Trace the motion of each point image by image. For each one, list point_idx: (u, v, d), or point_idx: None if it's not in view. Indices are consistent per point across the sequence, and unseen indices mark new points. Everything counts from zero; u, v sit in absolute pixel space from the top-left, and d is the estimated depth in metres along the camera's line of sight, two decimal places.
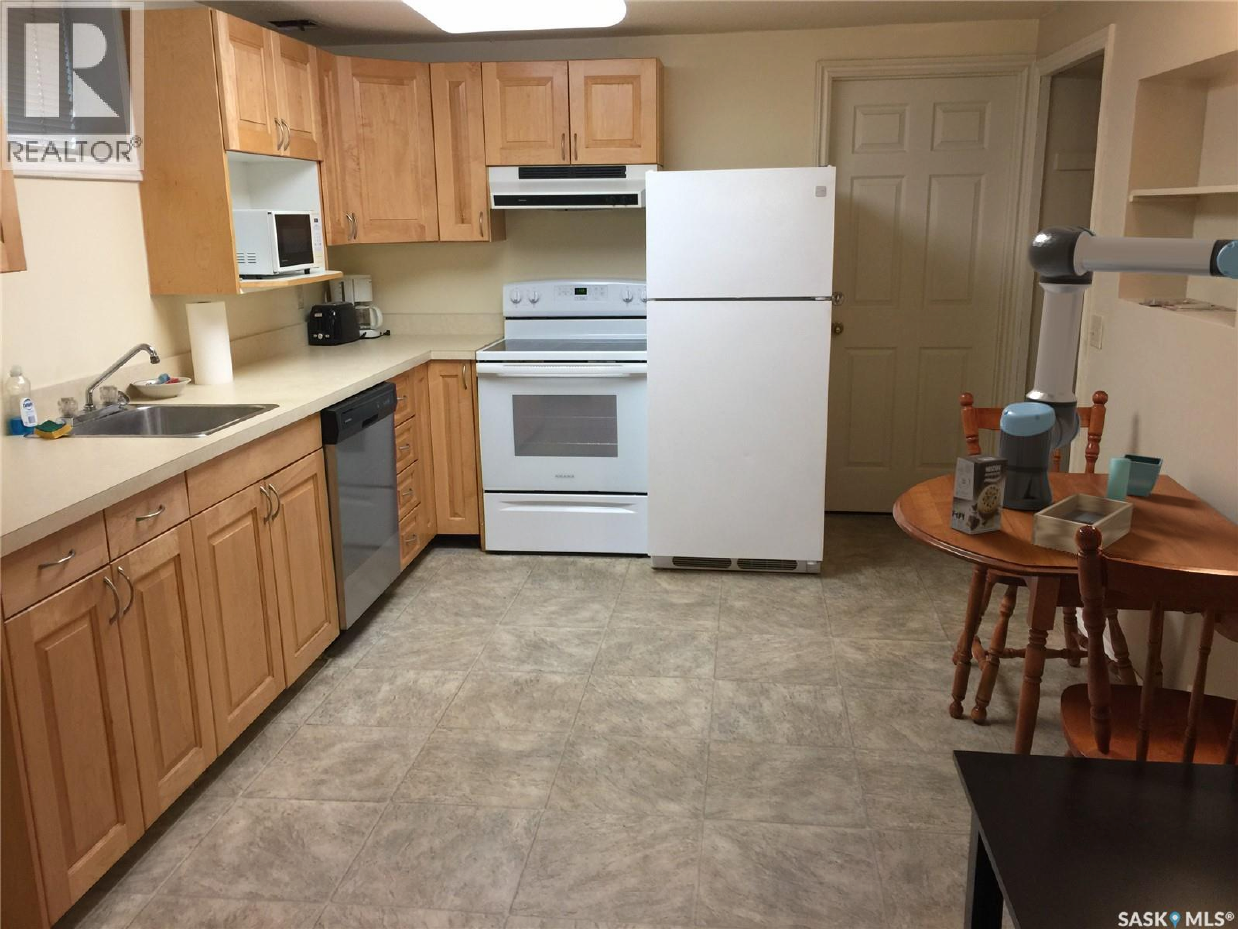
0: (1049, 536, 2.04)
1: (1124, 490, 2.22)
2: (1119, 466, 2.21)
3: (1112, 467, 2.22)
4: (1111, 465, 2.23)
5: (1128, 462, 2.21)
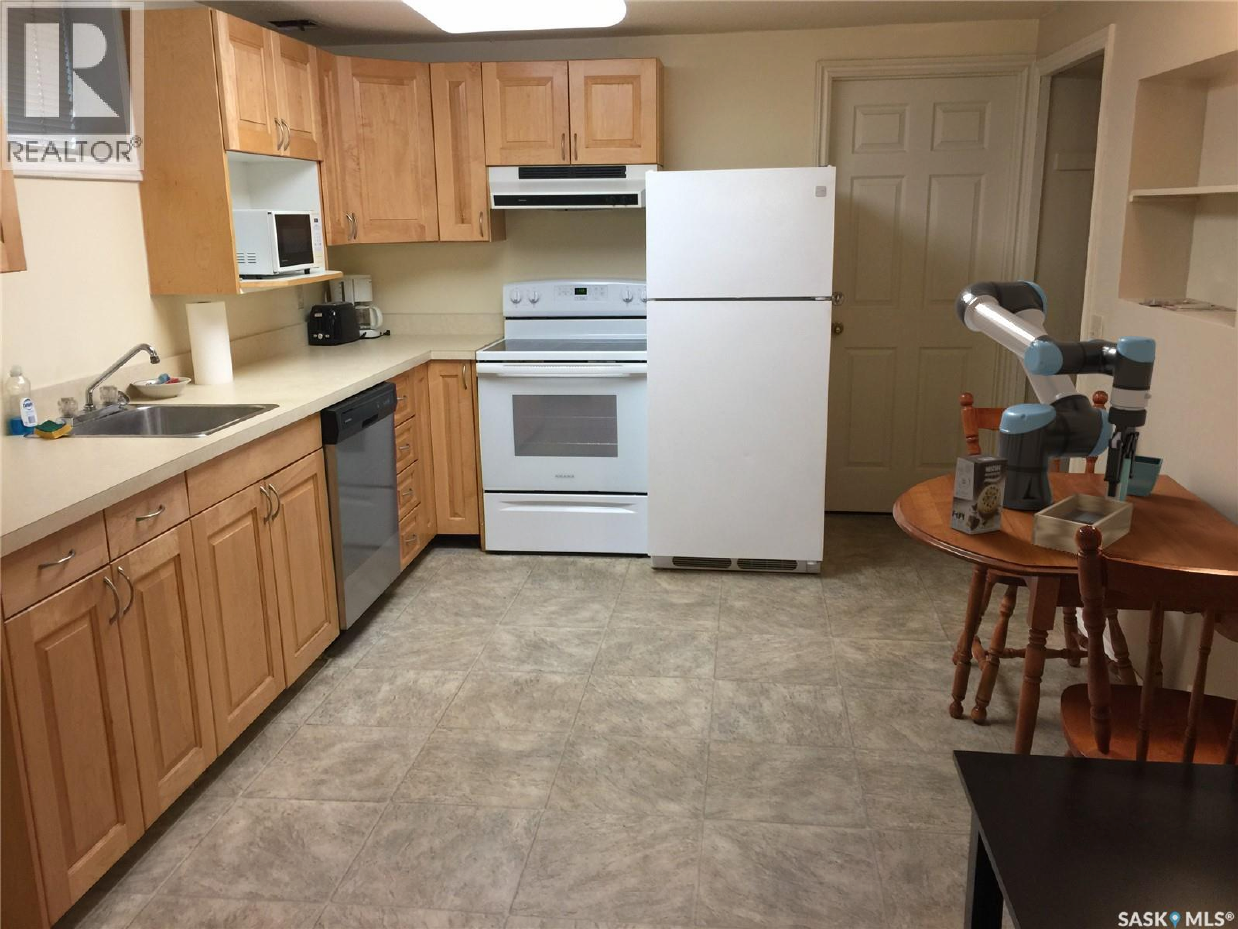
0: (1049, 536, 2.04)
1: (1124, 490, 2.22)
2: None
3: None
4: None
5: (1128, 462, 2.21)
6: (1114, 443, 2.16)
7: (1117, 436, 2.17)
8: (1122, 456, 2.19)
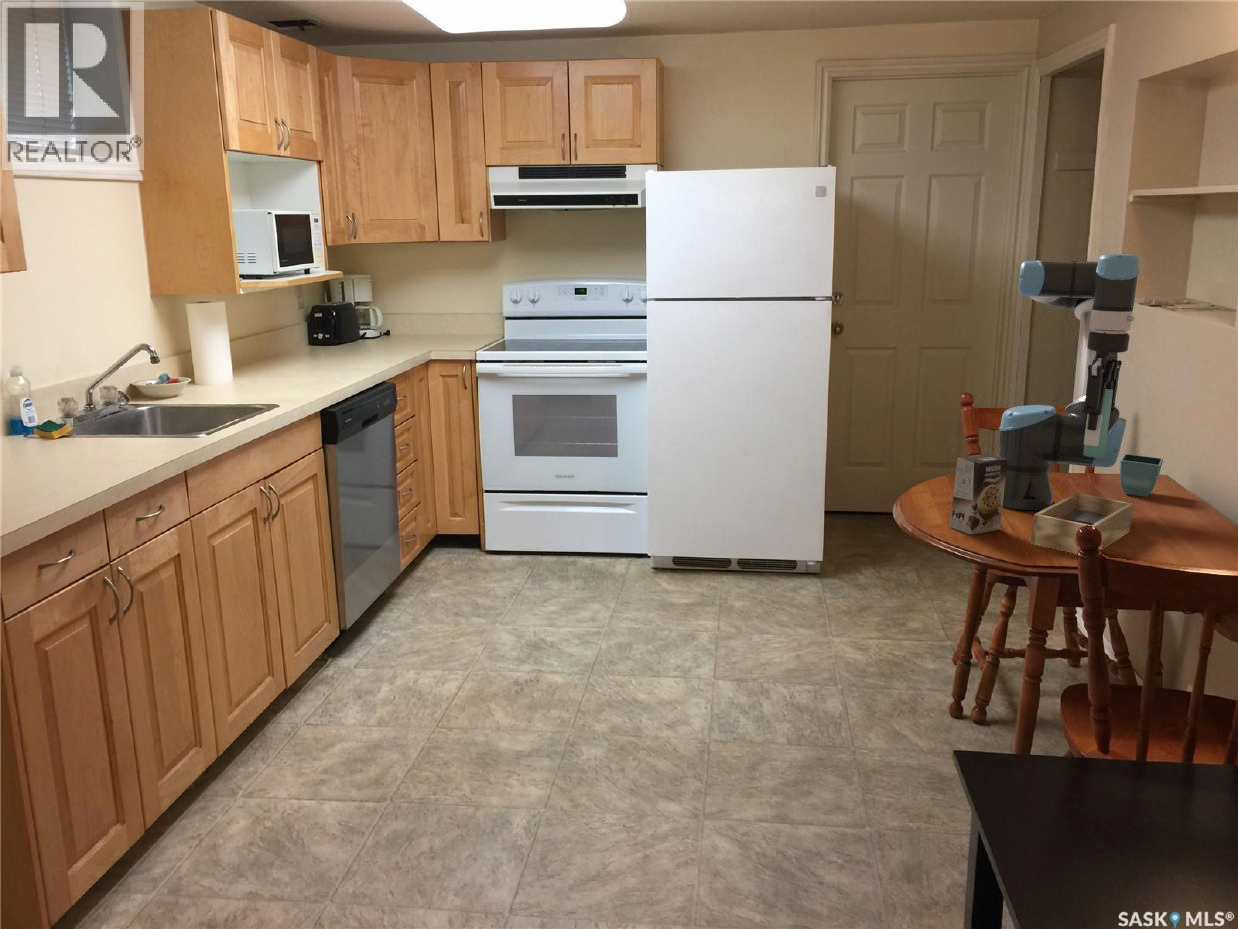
0: (1049, 536, 2.04)
1: (1106, 423, 2.04)
2: None
3: None
4: None
5: (1110, 392, 2.02)
6: (1094, 369, 1.98)
7: (1097, 362, 1.99)
8: (1103, 385, 2.01)
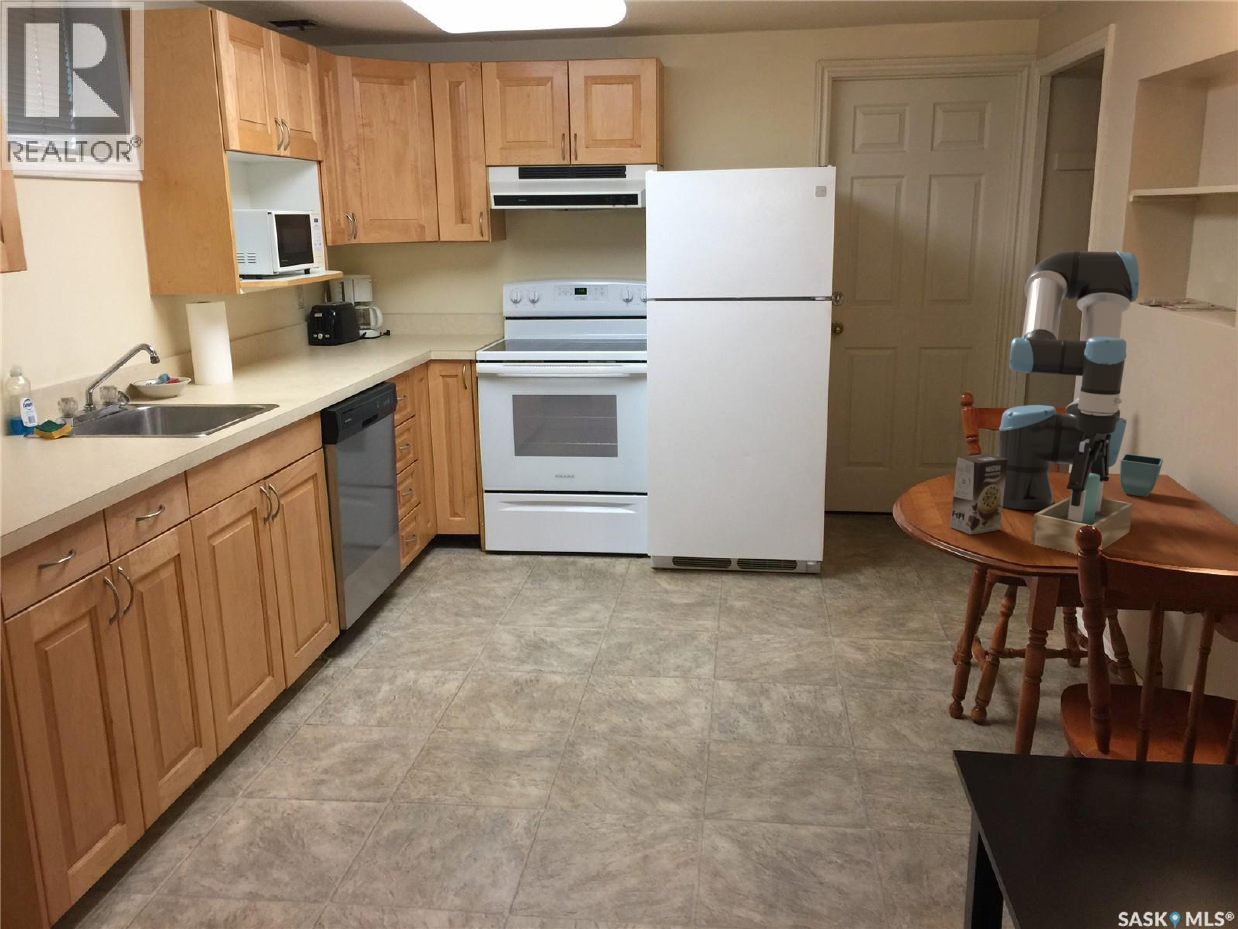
0: (1049, 536, 2.04)
1: (1093, 508, 2.08)
2: (1088, 483, 2.07)
3: None
4: None
5: (1097, 478, 2.06)
6: (1082, 445, 2.02)
7: (1085, 441, 2.03)
8: (1089, 463, 2.04)
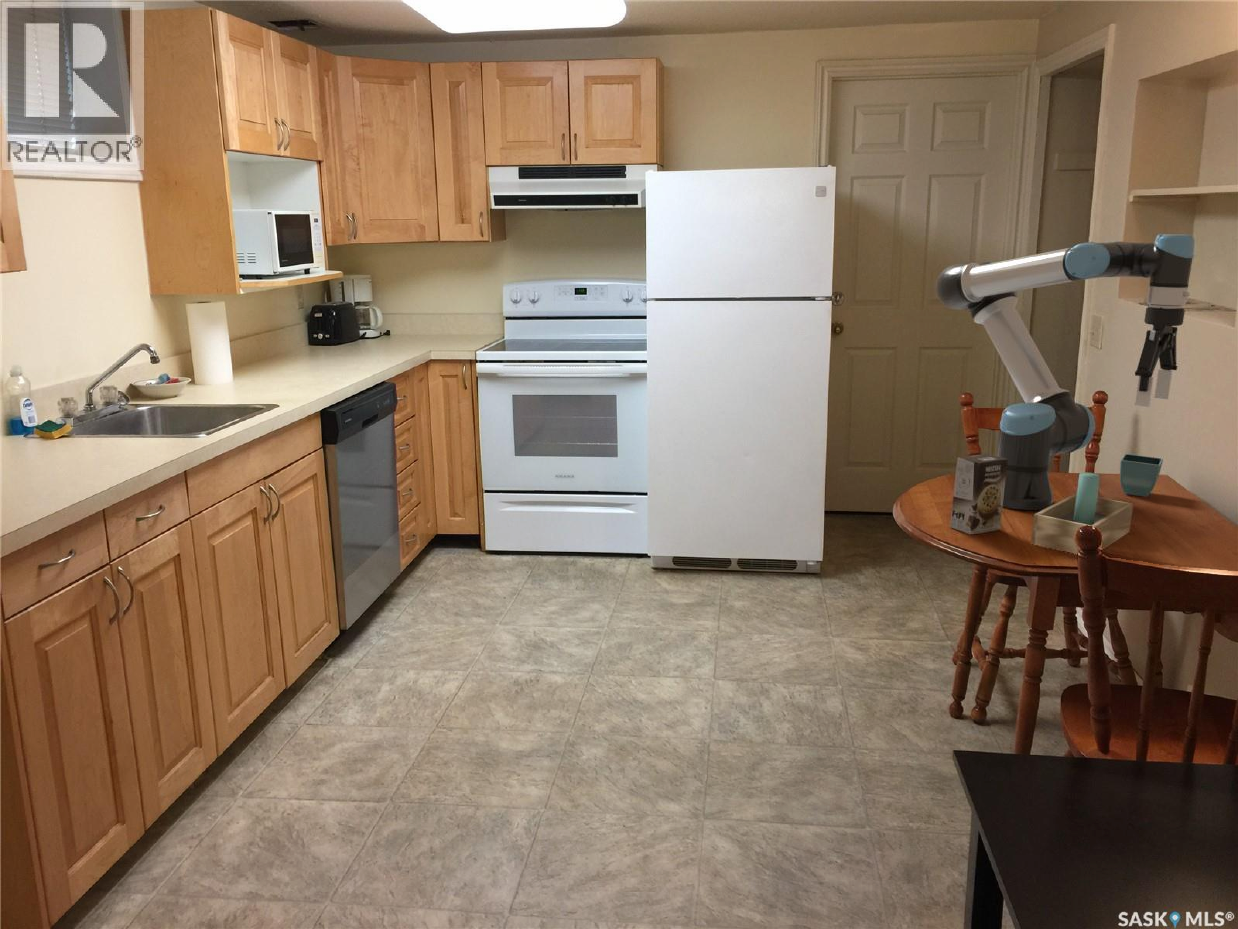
0: (1049, 536, 2.04)
1: (1093, 508, 2.08)
2: (1088, 483, 2.07)
3: (1080, 483, 2.08)
4: (1079, 481, 2.09)
5: (1097, 478, 2.07)
6: (1153, 333, 2.13)
7: None
8: (1157, 351, 2.15)
